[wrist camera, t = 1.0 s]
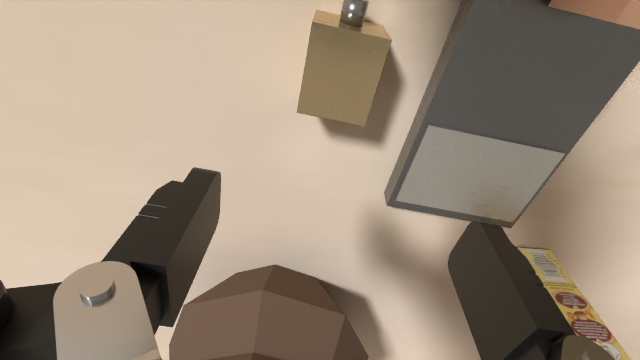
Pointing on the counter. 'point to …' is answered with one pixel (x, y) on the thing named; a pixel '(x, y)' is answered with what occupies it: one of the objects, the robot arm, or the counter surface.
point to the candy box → (572, 301)
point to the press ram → (604, 10)
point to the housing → (343, 64)
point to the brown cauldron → (265, 321)
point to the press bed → (507, 107)
